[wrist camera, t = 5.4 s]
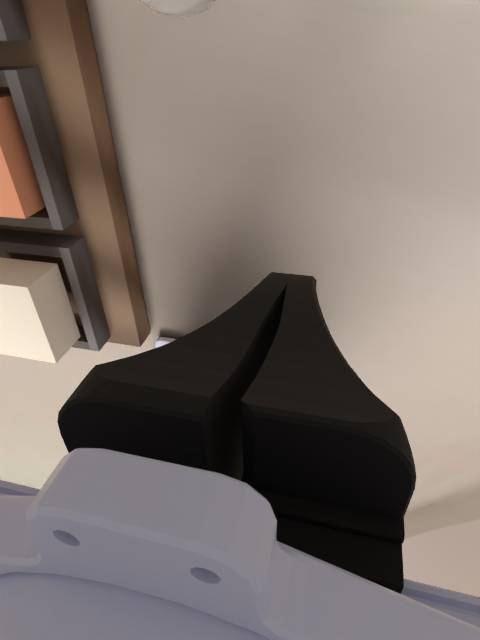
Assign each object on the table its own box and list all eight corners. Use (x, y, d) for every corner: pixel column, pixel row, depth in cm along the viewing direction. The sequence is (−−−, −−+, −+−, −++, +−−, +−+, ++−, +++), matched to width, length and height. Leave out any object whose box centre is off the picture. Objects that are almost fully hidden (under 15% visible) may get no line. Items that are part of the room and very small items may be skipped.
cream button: (80, 336, 26) (56, 363, 24) (11, 325, 27) (-18, 350, 25) (57, 263, 23) (27, 287, 21) (-20, 255, 24) (-56, 277, 22)
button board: (150, 332, 28) (129, 362, 26) (10, 313, 30) (-20, 338, 28) (39, -236, 14) (-28, -286, 12) (-204, -190, 16) (-301, -224, 14)
